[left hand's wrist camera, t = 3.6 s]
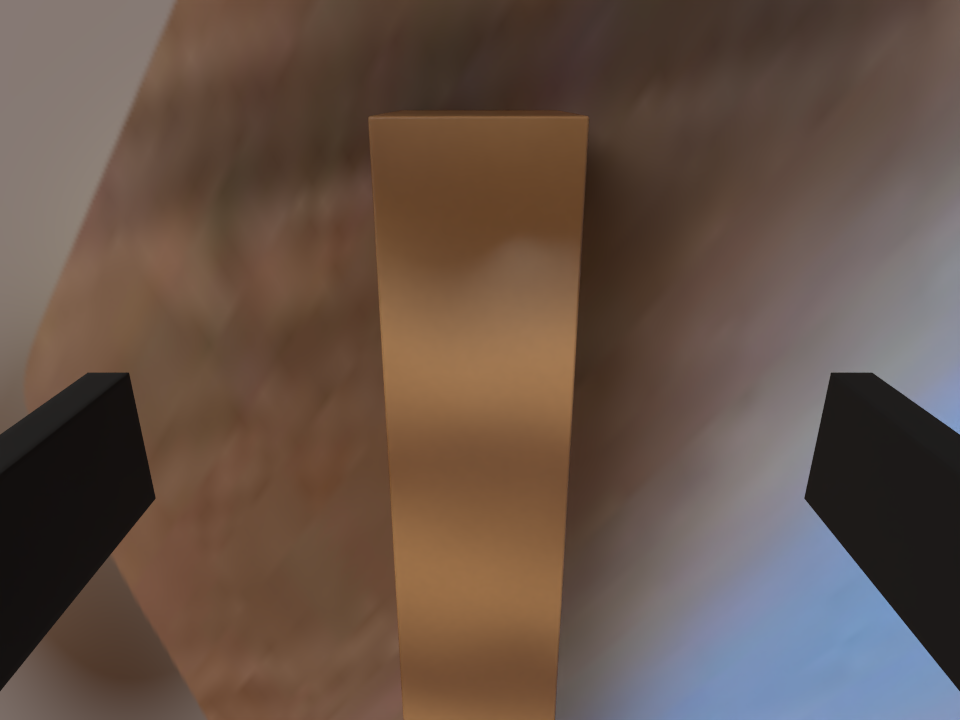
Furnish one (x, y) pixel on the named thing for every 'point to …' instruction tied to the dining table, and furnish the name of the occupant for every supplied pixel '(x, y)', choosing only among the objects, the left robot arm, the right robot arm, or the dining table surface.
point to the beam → (478, 396)
